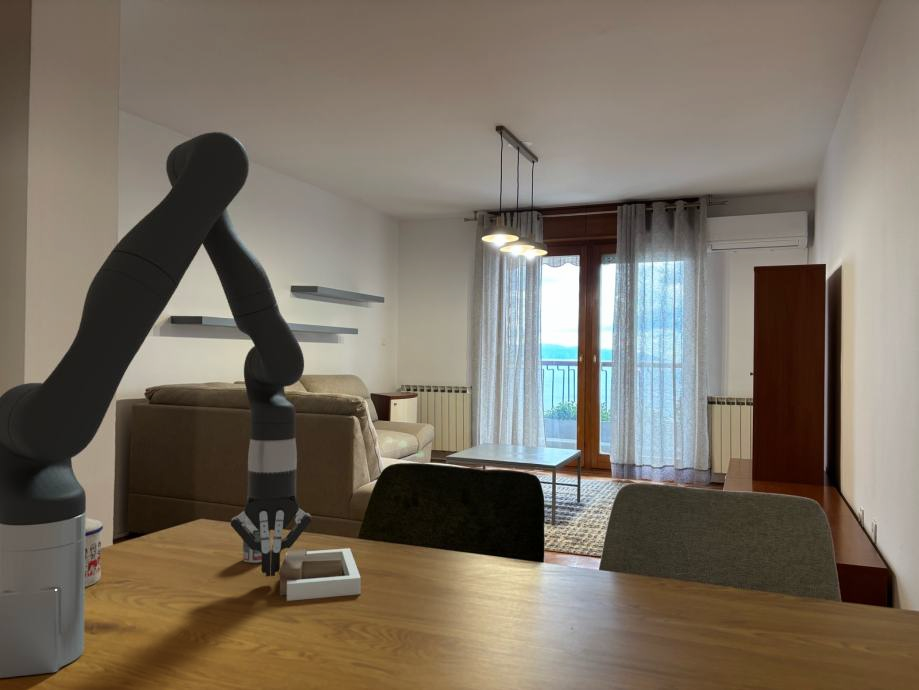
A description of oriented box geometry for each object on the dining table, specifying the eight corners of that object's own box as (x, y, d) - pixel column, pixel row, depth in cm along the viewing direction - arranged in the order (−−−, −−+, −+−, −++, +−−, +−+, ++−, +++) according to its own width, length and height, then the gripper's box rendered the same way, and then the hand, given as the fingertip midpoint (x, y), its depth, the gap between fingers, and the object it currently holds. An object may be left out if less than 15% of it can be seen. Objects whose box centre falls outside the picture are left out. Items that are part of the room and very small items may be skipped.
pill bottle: (274, 555, 122) (274, 510, 122) (264, 564, 117) (264, 516, 117) (249, 554, 122) (249, 509, 122) (238, 563, 117) (238, 515, 117)
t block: (339, 592, 103) (339, 567, 103) (279, 595, 102) (280, 569, 102) (342, 571, 113) (342, 548, 113) (288, 573, 112) (288, 549, 112)
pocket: (360, 594, 102) (360, 577, 102) (286, 600, 100) (287, 584, 100) (349, 562, 118) (349, 548, 118) (285, 567, 115) (285, 552, 115)
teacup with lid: (79, 594, 102) (80, 517, 102) (22, 592, 102) (23, 516, 103) (124, 568, 114) (124, 500, 114) (73, 567, 114) (73, 499, 115)
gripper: (227, 471, 101) (225, 586, 101) (315, 469, 105) (314, 579, 105) (230, 464, 109) (228, 570, 108) (313, 461, 112) (311, 564, 112)
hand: (270, 574), depth 107 cm, fingers closed
